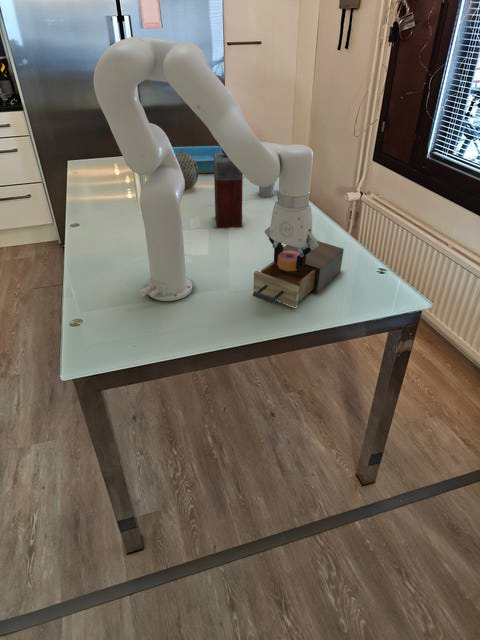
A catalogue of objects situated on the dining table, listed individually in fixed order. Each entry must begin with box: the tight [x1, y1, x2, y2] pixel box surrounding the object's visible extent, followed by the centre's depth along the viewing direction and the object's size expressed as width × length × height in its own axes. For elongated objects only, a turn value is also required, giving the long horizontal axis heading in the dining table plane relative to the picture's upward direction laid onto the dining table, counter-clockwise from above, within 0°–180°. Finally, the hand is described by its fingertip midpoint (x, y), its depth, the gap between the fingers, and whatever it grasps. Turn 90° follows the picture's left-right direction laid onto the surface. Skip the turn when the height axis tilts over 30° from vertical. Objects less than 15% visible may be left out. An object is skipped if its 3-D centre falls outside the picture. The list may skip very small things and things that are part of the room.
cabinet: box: [273, 240, 345, 295], centre depth 134 cm, size 14×14×8 cm
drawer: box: [252, 260, 317, 308], centre depth 124 cm, size 19×13×6 cm
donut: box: [277, 250, 299, 271], centre depth 123 cm, size 6×6×3 cm
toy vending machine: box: [213, 148, 244, 229], centre depth 159 cm, size 9×11×28 cm
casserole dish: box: [172, 145, 223, 174], centre depth 214 cm, size 37×22×7 cm, turn 97°
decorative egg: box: [175, 152, 199, 191], centre depth 189 cm, size 12×12×15 cm
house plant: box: [258, 182, 276, 198], centre depth 183 cm, size 14×14×16 cm
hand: (289, 263), depth 123 cm, fingers closed on donut, 6 cm apart
